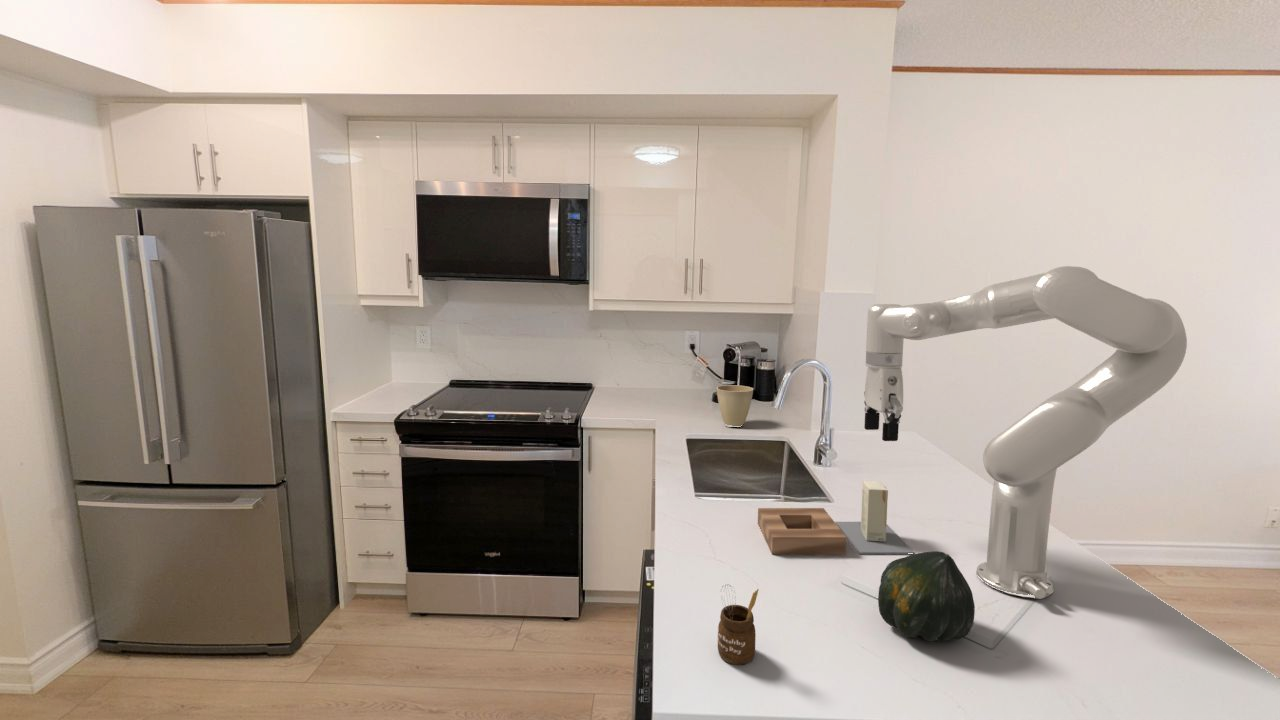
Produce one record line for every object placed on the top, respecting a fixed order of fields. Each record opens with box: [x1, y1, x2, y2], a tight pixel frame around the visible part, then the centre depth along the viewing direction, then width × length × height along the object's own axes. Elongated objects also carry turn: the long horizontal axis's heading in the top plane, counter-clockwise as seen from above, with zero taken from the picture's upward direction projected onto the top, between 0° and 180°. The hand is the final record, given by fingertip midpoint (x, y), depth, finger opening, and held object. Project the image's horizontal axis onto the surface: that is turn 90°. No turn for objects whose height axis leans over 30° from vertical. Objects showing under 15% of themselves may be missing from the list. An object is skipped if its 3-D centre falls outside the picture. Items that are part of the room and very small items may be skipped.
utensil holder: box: [717, 583, 759, 665], centre depth 90 cm, size 6×6×12 cm
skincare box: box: [860, 480, 889, 542], centre depth 131 cm, size 6×4×12 cm
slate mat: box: [834, 521, 916, 556], centre depth 132 cm, size 16×12×1 cm
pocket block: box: [757, 507, 847, 556], centre depth 131 cm, size 16×16×4 cm
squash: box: [877, 550, 976, 642], centre depth 96 cm, size 14×15×15 cm
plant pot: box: [716, 384, 754, 426], centre depth 233 cm, size 15×15×16 cm
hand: (880, 434), depth 128 cm, fingers open, 9 cm apart
